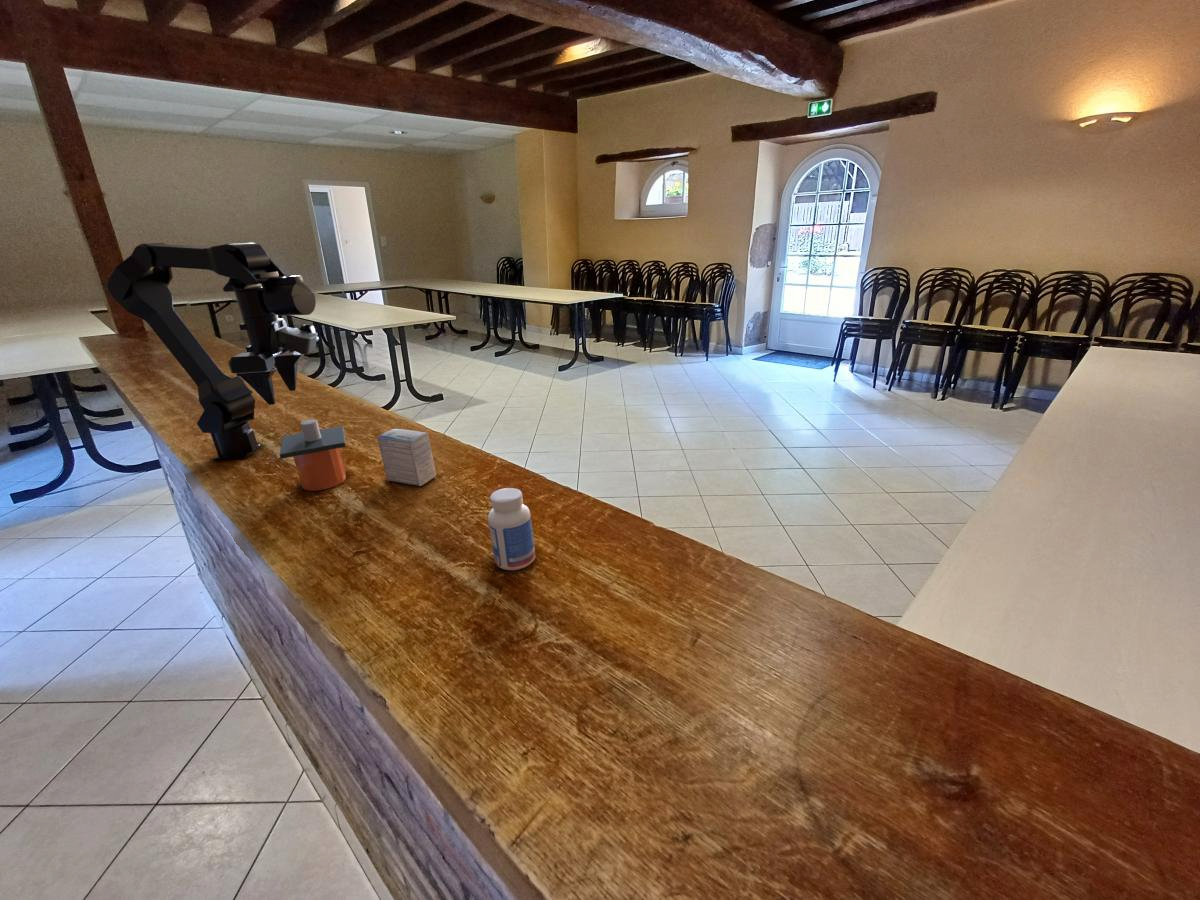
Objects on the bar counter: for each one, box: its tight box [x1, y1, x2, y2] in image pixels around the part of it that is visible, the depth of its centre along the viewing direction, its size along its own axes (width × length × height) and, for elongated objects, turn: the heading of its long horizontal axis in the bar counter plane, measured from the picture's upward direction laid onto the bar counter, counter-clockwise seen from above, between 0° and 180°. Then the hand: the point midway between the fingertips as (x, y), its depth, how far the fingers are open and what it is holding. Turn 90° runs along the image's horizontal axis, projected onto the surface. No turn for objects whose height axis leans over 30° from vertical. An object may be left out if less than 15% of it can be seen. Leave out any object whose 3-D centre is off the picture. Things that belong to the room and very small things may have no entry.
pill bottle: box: [487, 487, 536, 571], centre depth 72 cm, size 6×5×10 cm
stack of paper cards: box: [377, 428, 437, 487], centre depth 97 cm, size 8×4×9 cm, turn 65°
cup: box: [292, 448, 347, 492], centre depth 98 cm, size 7×7×8 cm
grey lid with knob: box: [279, 419, 347, 460], centre depth 96 cm, size 10×10×4 cm
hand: (282, 397), depth 107 cm, fingers open, 9 cm apart
